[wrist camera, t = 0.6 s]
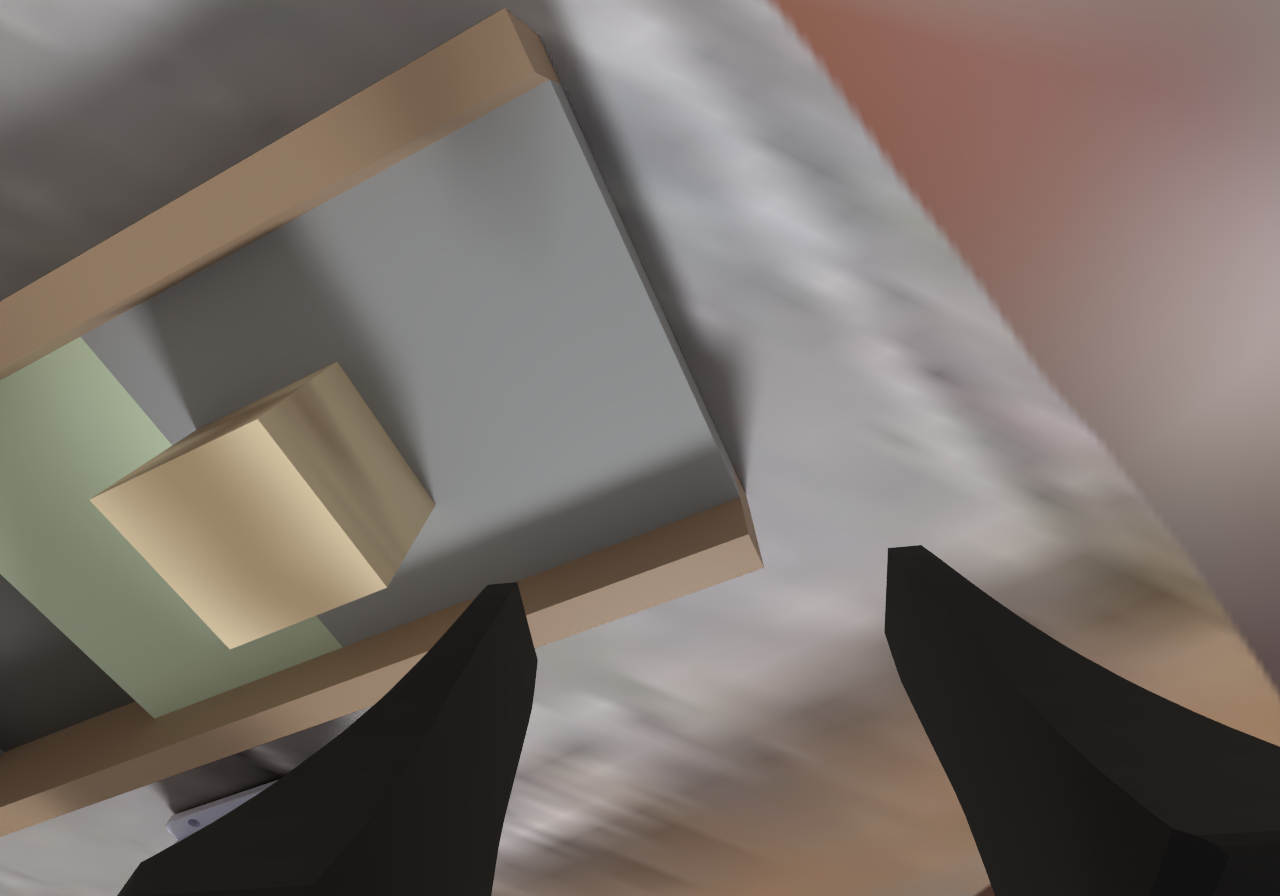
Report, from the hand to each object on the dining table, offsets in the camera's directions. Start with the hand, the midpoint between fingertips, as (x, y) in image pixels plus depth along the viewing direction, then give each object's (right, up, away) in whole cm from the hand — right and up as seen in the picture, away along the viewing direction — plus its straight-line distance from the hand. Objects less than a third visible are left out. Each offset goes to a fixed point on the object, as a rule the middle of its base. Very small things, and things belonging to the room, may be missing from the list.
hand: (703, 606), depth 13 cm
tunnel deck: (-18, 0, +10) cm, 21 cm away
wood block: (-11, +3, +7) cm, 13 cm away
